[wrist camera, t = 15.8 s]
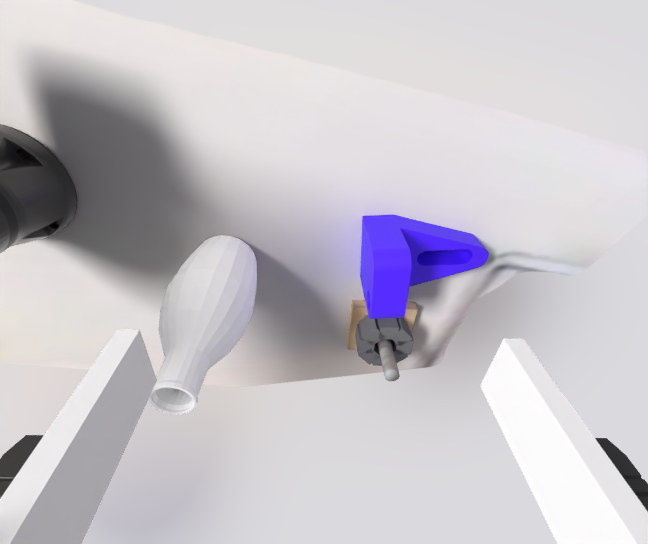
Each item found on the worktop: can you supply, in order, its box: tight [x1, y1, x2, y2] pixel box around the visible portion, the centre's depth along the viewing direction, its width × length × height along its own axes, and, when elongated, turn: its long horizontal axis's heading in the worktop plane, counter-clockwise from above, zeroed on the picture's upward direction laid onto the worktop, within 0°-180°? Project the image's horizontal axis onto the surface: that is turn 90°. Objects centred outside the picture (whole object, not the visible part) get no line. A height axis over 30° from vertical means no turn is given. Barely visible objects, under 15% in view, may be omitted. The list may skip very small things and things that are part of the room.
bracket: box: [360, 215, 488, 319], centre depth 48 cm, size 18×11×12 cm, turn 92°
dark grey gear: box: [355, 316, 414, 366], centre depth 58 cm, size 9×9×4 cm
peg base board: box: [347, 300, 418, 381], centre depth 56 cm, size 11×10×12 cm
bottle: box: [148, 235, 257, 415], centre depth 42 cm, size 11×11×25 cm
